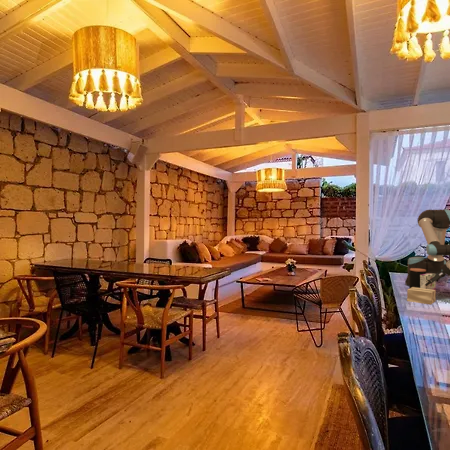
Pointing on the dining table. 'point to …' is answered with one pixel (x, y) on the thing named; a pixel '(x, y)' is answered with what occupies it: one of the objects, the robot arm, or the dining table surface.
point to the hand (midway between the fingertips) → (424, 286)
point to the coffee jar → (415, 277)
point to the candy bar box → (424, 279)
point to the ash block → (421, 295)
